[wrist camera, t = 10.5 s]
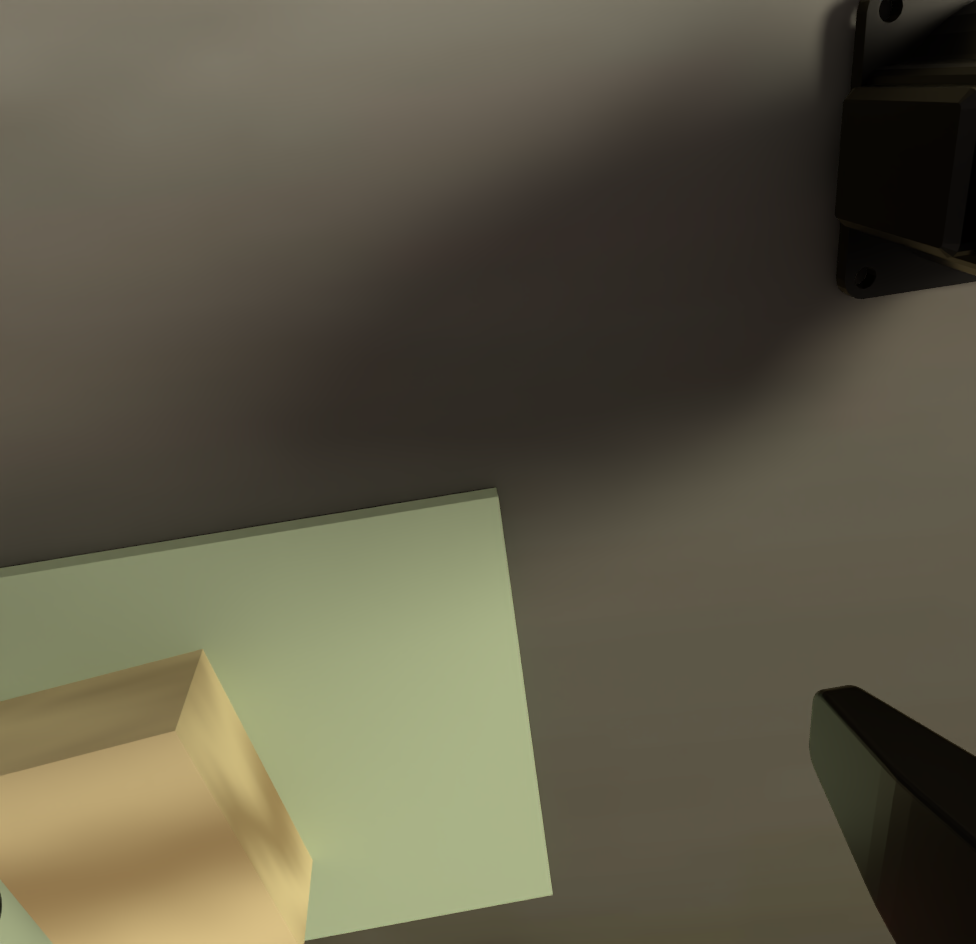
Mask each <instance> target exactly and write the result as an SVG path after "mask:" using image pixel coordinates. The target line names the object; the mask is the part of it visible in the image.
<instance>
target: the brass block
mask: <svg viewBox="0 0 976 944" xmlns="http://www.w3.org/2000/svg"><path fill="white" fill-rule="evenodd" d="M312 863H313V860H312V858H311V856H310V854H309V852H308V850H307V848H306V847H305V845H304V843H303V841H302V839H301V837H300V835H299V833H298V831H297V829H296V827H295V825H294V823H293V822H292V820H291V818H290V816H289V814H288V812H287V810H286V808H285V806H284V804H283V802H282V800H281V798H280V797H279V795H278V793H277V791H276V789H275V787H274V785H273V783H272V781H271V779H270V777H269V775H268V773H267V772H266V770H265V768H264V766H263V764H262V762H261V760H260V758H259V756H258V754H257V752H256V750H255V748H254V747H253V745H252V743H251V741H250V739H249V737H248V735H247V733H246V731H245V729H244V727H243V725H242V723H241V721H240V720H239V718H238V716H237V714H236V712H235V710H234V708H233V706H232V704H231V702H230V700H229V698H228V696H227V695H226V693H225V691H224V689H223V687H222V685H221V683H220V681H219V679H218V677H217V675H216V673H215V671H214V670H213V668H212V666H211V664H210V662H209V660H208V658H207V656H206V654H205V652H204V650H203V649H200V650H197V651H193V652H189V653H185V654H181V655H177V656H173V657H170V658H166V659H162V660H158V661H154V662H150V663H146V664H143V665H139V666H135V667H131V668H127V669H123V670H120V671H116V672H112V673H108V674H104V675H100V676H96V677H93V678H89V679H85V680H81V681H77V682H73V683H69V684H66V685H62V686H58V687H54V688H50V689H46V690H42V691H39V692H35V693H31V694H27V695H23V696H19V697H16V698H12V699H8V700H4V701H0V880H1V881H2V882H3V883H4V885H5V886H6V887H7V888H8V890H9V891H10V892H11V893H12V894H13V896H14V897H15V898H16V899H17V901H18V902H19V903H20V904H21V905H22V907H23V908H24V909H25V910H26V912H27V913H28V914H29V915H30V916H31V918H32V919H33V920H34V921H35V922H36V924H37V925H38V926H39V927H40V929H41V930H42V931H43V932H44V933H45V935H46V936H47V937H48V938H49V940H50V941H51V942H52V943H53V944H304V940H305V930H306V921H307V911H308V901H309V892H310V882H311V872H312Z"/></svg>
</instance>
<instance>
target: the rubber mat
mask: <svg viewBox="0 0 976 944" xmlns="http://www.w3.org/2000/svg"><path fill="white" fill-rule="evenodd" d="M200 649H203V650H204V652H205V654H206V656H207V658H208V660H209V662H210V664H211V666H212V668H213V670H214V671H215V673H216V675H217V677H218V679H219V681H220V683H221V685H222V687H223V689H224V691H225V693H226V695H227V696H228V698H229V700H230V702H231V704H232V706H233V708H234V710H235V712H236V714H237V716H238V718H239V720H240V721H241V723H242V725H243V727H244V729H245V731H246V733H247V735H248V737H249V739H250V741H251V743H252V745H253V747H254V748H255V750H256V752H257V754H258V756H259V758H260V760H261V762H262V764H263V766H264V768H265V770H266V772H267V773H268V775H269V777H270V779H271V781H272V783H273V785H274V787H275V789H276V791H277V793H278V795H279V797H280V798H281V800H282V802H283V804H284V806H285V808H286V810H287V812H288V814H289V816H290V818H291V820H292V822H293V823H294V825H295V827H296V829H297V831H298V833H299V835H300V837H301V839H302V841H303V843H304V845H305V847H306V848H307V850H308V852H309V854H310V856H311V858H312V860H313V863H312V872H311V882H310V892H309V901H308V911H307V921H306V930H305V940H304V941H306V940H311V939H316V938H322V937H327V936H333V935H338V934H343V933H349V932H354V931H360V930H365V929H370V928H376V927H381V926H387V925H392V924H397V923H403V922H408V921H414V920H419V919H424V918H430V917H435V916H441V915H446V914H451V913H457V912H462V911H468V910H473V909H478V908H484V907H489V906H495V905H500V904H505V903H511V902H516V901H522V900H527V899H532V898H538V897H543V896H549V895H553V894H552V886H551V879H550V872H549V864H548V857H547V850H546V842H545V835H544V828H543V820H542V813H541V806H540V798H539V791H538V784H537V776H536V769H535V762H534V754H533V747H532V740H531V732H530V725H529V718H528V710H527V703H526V696H525V688H524V681H523V674H522V666H521V659H520V652H519V644H518V637H517V630H516V622H515V615H514V608H513V600H512V593H511V586H510V578H509V571H508V564H507V556H506V549H505V542H504V534H503V527H502V520H501V512H500V505H499V498H498V493H497V489H496V487H495V488H489V489H483V490H477V491H471V492H465V493H459V494H452V495H446V496H440V497H434V498H428V499H422V500H416V501H410V502H403V503H397V504H391V505H385V506H379V507H373V508H367V509H360V510H354V511H348V512H342V513H336V514H330V515H324V516H318V517H311V518H305V519H299V520H293V521H287V522H281V523H275V524H268V525H262V526H256V527H250V528H244V529H238V530H232V531H225V532H219V533H213V534H207V535H201V536H195V537H189V538H183V539H176V540H170V541H164V542H158V543H152V544H146V545H140V546H133V547H127V548H121V549H115V550H109V551H103V552H97V553H90V554H84V555H78V556H72V557H66V558H60V559H54V560H48V561H41V562H35V563H29V564H23V565H17V566H11V567H5V568H0V701H4V700H8V699H12V698H16V697H19V696H23V695H27V694H31V693H35V692H39V691H42V690H46V689H50V688H54V687H58V686H62V685H66V684H69V683H73V682H77V681H81V680H85V679H89V678H93V677H96V676H100V675H104V674H108V673H112V672H116V671H120V670H123V669H127V668H131V667H135V666H139V665H143V664H146V663H150V662H154V661H158V660H162V659H166V658H170V657H173V656H177V655H181V654H185V653H189V652H193V651H197V650H200ZM0 893H1V897H2V913H1V918H0V944H53V943H52V942H51V941H50V940H49V938H48V937H47V936H46V935H45V933H44V932H43V931H42V930H41V929H40V927H39V926H38V925H37V924H36V922H35V921H34V920H33V919H32V918H31V916H30V915H29V914H28V913H27V912H26V910H25V909H24V908H23V907H22V905H21V904H20V903H19V902H18V901H17V899H16V898H15V897H14V896H13V894H12V893H11V892H10V891H9V890H8V888H7V887H6V886H5V885H4V883H3V882H2V881H1V880H0Z"/></svg>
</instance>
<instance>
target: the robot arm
mask: <svg viewBox="0 0 976 944" xmlns="http://www.w3.org/2000/svg"><path fill="white" fill-rule="evenodd" d="M882 1H883V0H860V2H859V6H858V10H857V17H856V30H855V42H854V55H853V68H852V81H851V92H850V93H849V94H848V96H847V97H846V99H845V100H844V102H843V113H842V126H841V139H840V153H839V166H838V180H837V193H836V207H835V216H836V218H837V219H838V220H839V221H840V235H839V248H838V260H837V273H836V280H837V286H838V287H839V289H840V290H841V291H842V292H844V293H845V294H847V295H849V296H852V297H854V298H857V299H865V298H872V297H878V296H884V295H891V294H897V293H904V292H910V291H917V290H923V289H929V288H936V287H942V286H949V285H955V284H961V283H968V282H974V281H976V0H891V3H892V10H891V14H890V16H889V17H888V18H887V20H886V21H885V22H883V21H882V19H881V18H880V16H879V7H880V4H881V2H882ZM865 267H866V270H867V274H866V277H865V279H864V280H863V281H862V282H861V283H859V284H857V285H856V284H855V277H856V274H857V273H858V272H859V271H860V270H861V269H862V268H865ZM809 750H810V756H811V760H812V763H813V766H814V769H815V771H816V773H817V776H818V778H819V780H820V783H821V785H822V787H823V789H824V792H825V794H826V796H827V798H828V801H829V803H830V805H831V807H832V810H833V812H834V814H835V816H836V819H837V821H838V823H839V826H840V828H841V830H842V832H843V835H844V837H845V839H846V841H847V844H848V846H849V848H850V850H851V853H852V855H853V857H854V859H855V862H856V864H857V866H858V869H859V871H860V873H861V875H862V878H863V880H864V882H865V884H866V886H867V889H868V891H869V893H870V895H871V897H872V899H873V901H874V903H875V906H876V908H877V909H878V911H879V913H880V915H881V917H882V919H883V921H884V922H885V924H886V926H887V928H888V930H889V932H890V933H891V935H892V937H893V939H894V941H895V942H896V944H976V756H974V755H973V754H971V753H969V752H967V751H966V750H964V749H962V748H961V747H959V746H957V745H956V744H954V743H952V742H951V741H949V740H947V739H946V738H944V737H942V736H940V735H939V734H937V733H935V732H934V731H932V730H930V729H929V728H927V727H925V726H924V725H922V724H920V723H919V722H917V721H915V720H914V719H912V718H910V717H908V716H907V715H905V714H903V713H902V712H900V711H898V710H897V709H895V708H893V707H892V706H890V705H888V704H887V703H885V702H883V701H881V700H880V699H878V698H876V697H875V696H873V695H871V694H870V693H868V692H866V691H865V690H863V689H861V688H859V687H856V686H853V685H846V686H840V687H834V688H829V689H823V690H820V691H818V692H817V693H816V694H815V696H814V699H813V705H812V716H811V728H810V740H809ZM1 913H2V897H1V893H0V918H1Z"/></svg>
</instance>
